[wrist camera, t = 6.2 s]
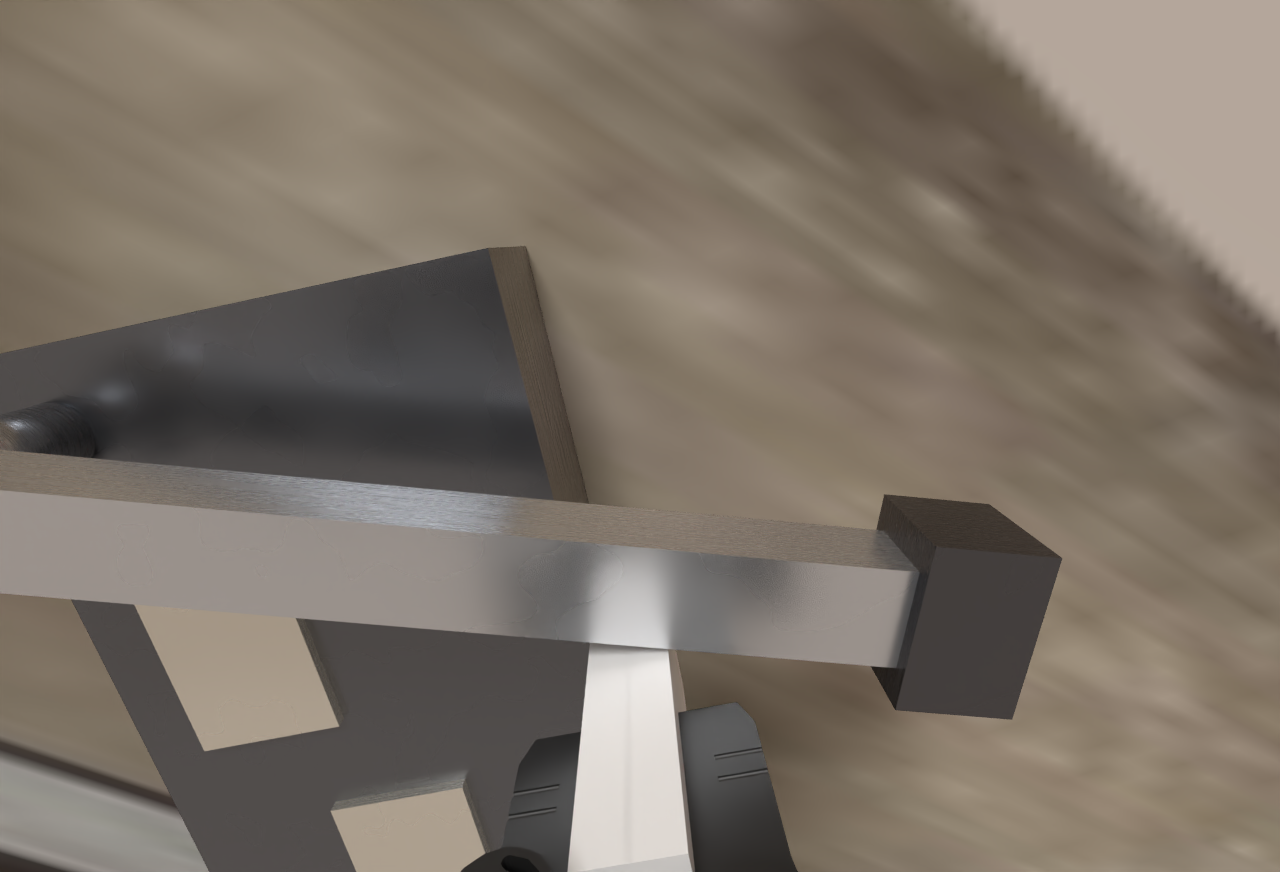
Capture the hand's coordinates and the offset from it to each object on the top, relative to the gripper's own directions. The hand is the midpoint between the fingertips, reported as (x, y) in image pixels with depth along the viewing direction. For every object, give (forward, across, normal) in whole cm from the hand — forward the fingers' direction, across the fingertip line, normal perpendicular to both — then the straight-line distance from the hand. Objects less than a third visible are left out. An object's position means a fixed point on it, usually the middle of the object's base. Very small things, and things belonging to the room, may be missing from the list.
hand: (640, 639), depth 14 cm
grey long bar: (-1, -3, +4) cm, 5 cm away
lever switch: (+7, -7, -3) cm, 11 cm away
